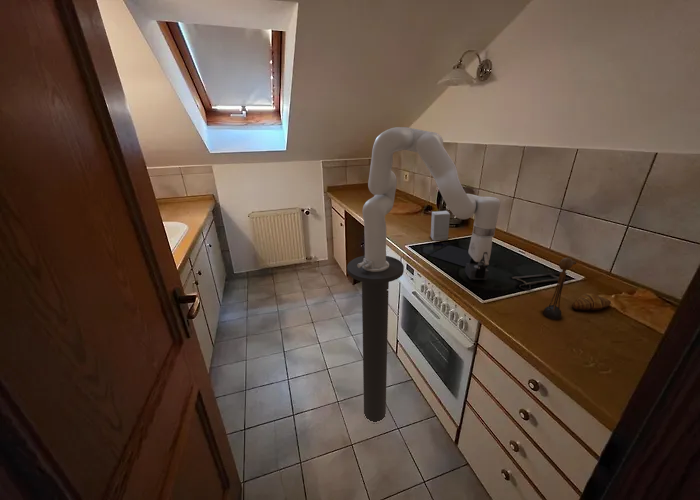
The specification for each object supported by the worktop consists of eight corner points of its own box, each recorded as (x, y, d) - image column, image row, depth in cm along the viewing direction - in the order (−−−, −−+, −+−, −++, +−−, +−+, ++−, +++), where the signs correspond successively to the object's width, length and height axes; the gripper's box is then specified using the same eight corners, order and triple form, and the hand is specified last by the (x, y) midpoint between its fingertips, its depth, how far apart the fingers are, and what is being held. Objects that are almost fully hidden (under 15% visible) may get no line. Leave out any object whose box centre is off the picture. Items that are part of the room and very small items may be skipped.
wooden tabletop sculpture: (554, 309, 97) (569, 253, 90) (567, 317, 93) (584, 259, 86) (539, 312, 96) (554, 256, 88) (552, 320, 92) (568, 262, 84)
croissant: (598, 299, 102) (602, 287, 100) (617, 310, 96) (622, 297, 94) (563, 304, 100) (567, 291, 98) (581, 315, 94) (585, 302, 92)
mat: (464, 267, 128) (464, 266, 128) (428, 255, 141) (428, 255, 140) (483, 255, 139) (483, 254, 139) (448, 245, 152) (448, 244, 152)
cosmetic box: (444, 236, 164) (447, 210, 158) (448, 240, 158) (451, 213, 152) (429, 237, 164) (431, 210, 158) (432, 241, 158) (434, 213, 153)
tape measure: (487, 279, 114) (488, 270, 113) (469, 279, 114) (471, 270, 113) (480, 271, 121) (481, 262, 119) (464, 270, 121) (465, 262, 120)
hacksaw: (563, 273, 120) (564, 270, 120) (584, 286, 111) (585, 282, 110) (506, 277, 118) (507, 274, 118) (523, 290, 109) (524, 287, 108)
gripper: (466, 223, 118) (459, 263, 125) (481, 238, 102) (473, 284, 109) (485, 223, 118) (478, 264, 125) (504, 239, 102) (494, 284, 109)
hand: (476, 273), depth 117 cm, fingers closed on tape measure, 6 cm apart
